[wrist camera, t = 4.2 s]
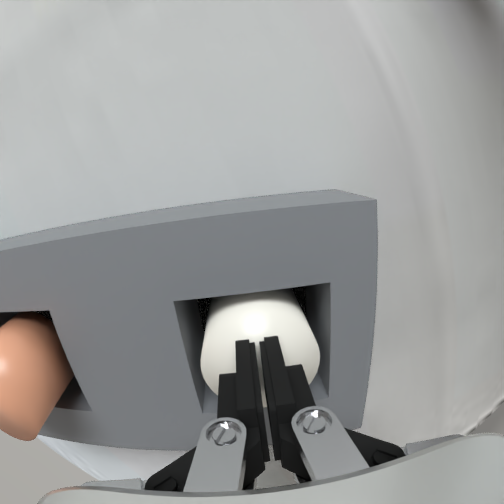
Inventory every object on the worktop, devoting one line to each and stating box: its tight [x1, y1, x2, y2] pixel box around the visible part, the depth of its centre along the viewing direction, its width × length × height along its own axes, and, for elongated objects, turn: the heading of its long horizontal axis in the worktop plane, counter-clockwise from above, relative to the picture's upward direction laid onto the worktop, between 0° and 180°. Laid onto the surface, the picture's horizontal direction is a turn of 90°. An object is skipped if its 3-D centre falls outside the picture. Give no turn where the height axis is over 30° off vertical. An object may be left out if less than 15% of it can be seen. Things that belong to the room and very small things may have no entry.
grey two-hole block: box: [0, 189, 378, 450], centre depth 15 cm, size 22×12×5 cm, turn 96°
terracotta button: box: [0, 311, 74, 441], centre depth 11 cm, size 5×5×5 cm
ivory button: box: [201, 288, 320, 407], centre depth 14 cm, size 5×5×5 cm
